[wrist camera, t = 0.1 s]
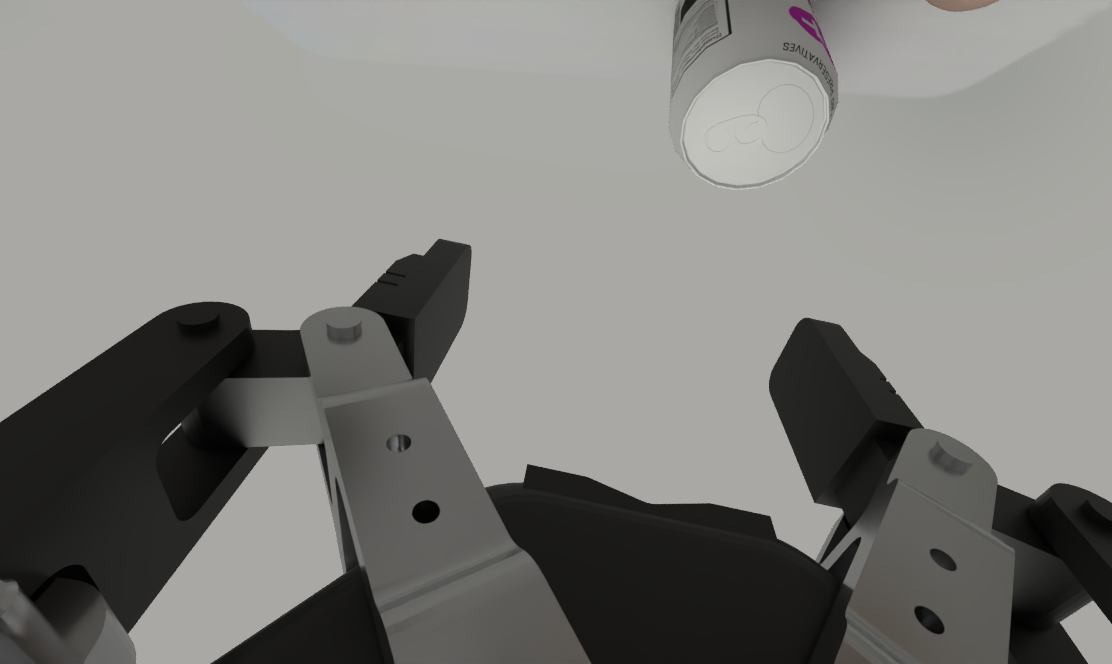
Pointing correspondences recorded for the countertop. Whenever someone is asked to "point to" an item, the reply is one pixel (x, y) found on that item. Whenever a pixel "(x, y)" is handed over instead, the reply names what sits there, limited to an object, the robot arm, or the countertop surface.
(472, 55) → the countertop surface
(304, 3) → the countertop surface
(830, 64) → the supplement can
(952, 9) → the egg
